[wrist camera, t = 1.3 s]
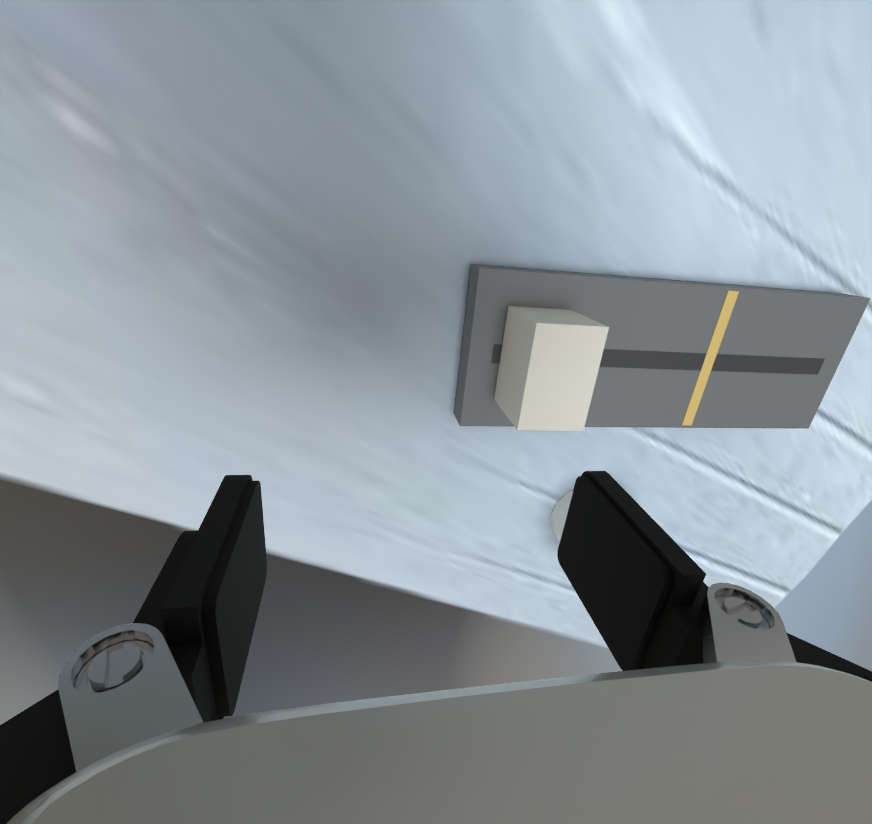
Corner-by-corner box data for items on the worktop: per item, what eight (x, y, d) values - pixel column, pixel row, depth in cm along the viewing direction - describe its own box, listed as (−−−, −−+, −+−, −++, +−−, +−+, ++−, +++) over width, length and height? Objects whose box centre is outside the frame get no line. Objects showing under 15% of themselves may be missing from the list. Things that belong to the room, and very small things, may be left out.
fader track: (453, 413, 31) (460, 426, 29) (471, 264, 27) (479, 267, 25) (785, 417, 36) (809, 428, 34) (841, 293, 32) (871, 298, 30)
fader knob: (493, 399, 28) (517, 430, 24) (508, 305, 26) (536, 323, 22) (551, 400, 29) (583, 430, 25) (570, 309, 27) (609, 327, 23)
